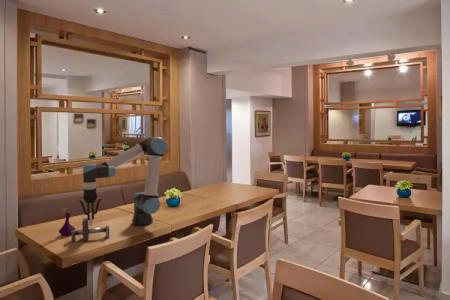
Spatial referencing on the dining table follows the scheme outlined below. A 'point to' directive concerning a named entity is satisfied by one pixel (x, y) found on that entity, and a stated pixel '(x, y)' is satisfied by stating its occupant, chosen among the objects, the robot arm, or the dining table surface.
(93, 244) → the dining table surface
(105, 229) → the pipe stand
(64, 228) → the perfume bottle
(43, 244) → the dining table surface
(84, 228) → the collar
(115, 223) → the dining table surface
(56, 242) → the dining table surface
